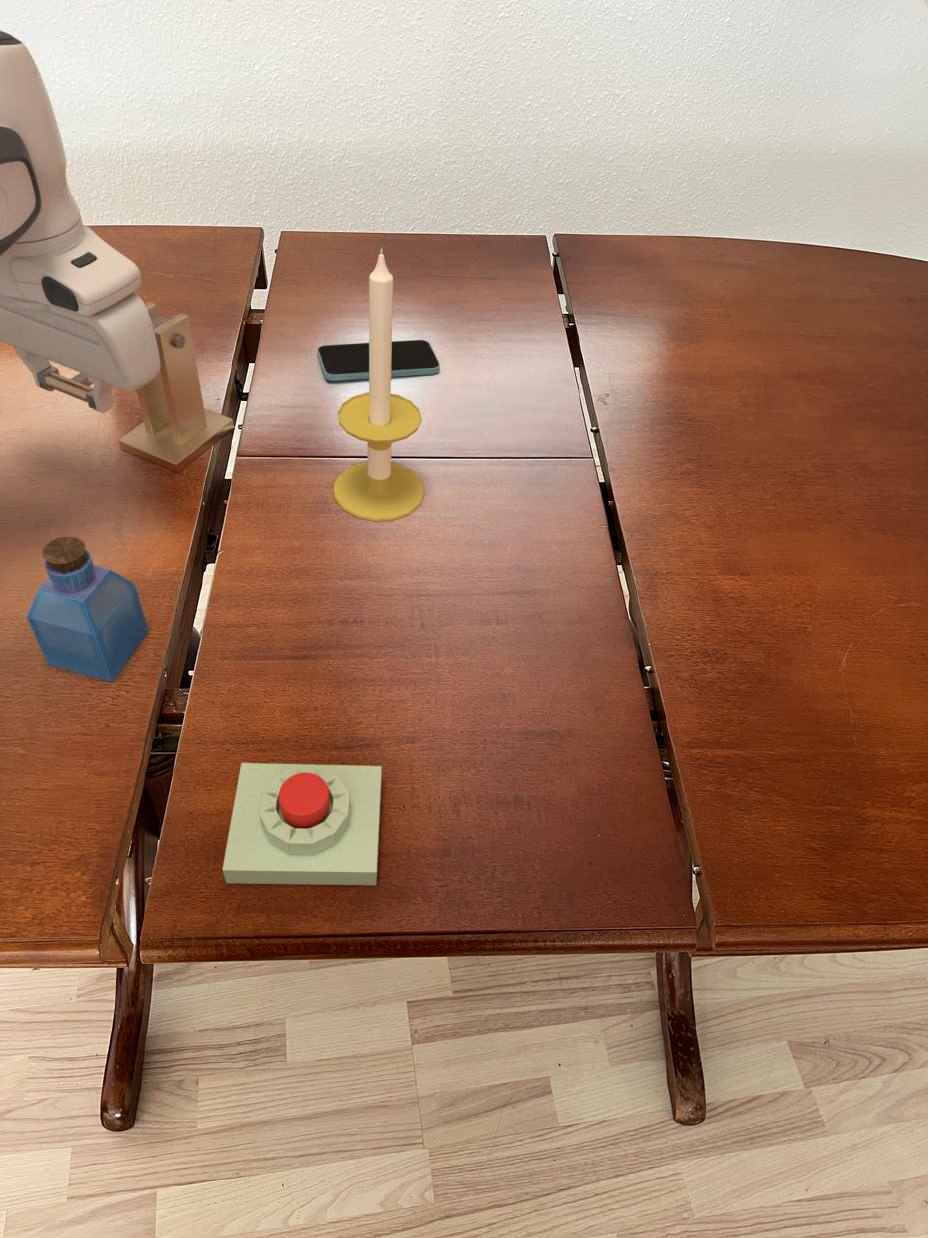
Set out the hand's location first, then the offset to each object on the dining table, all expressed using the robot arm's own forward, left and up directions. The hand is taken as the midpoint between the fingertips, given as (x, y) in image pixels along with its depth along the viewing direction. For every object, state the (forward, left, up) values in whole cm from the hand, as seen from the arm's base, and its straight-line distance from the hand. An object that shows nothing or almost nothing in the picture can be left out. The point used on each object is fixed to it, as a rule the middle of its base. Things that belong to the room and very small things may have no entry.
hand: (76, 397), depth 81 cm
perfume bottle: (+14, -16, -12) cm, 25 cm away
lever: (0, +6, 0) cm, 6 cm away
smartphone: (+11, +38, -12) cm, 41 cm away
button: (+40, -22, -8) cm, 46 cm away
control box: (+40, -22, -12) cm, 47 cm away
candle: (+24, +16, -12) cm, 31 cm away
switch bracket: (0, +12, -12) cm, 17 cm away
